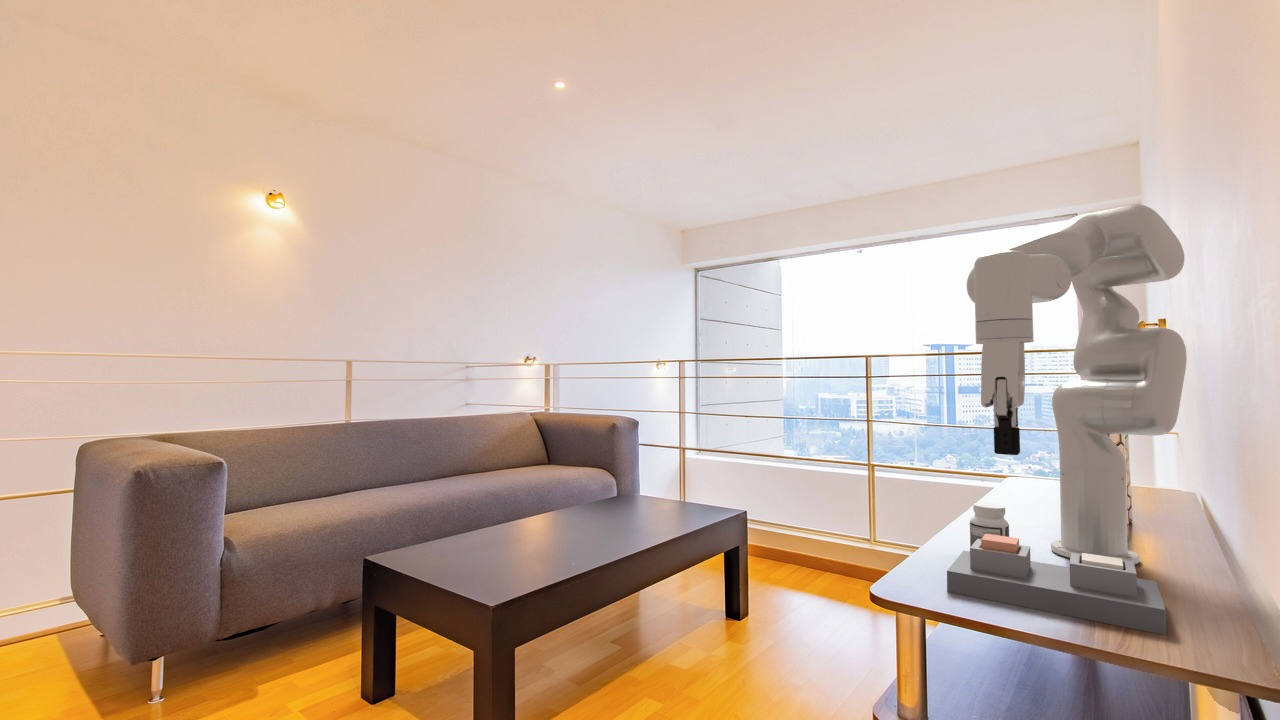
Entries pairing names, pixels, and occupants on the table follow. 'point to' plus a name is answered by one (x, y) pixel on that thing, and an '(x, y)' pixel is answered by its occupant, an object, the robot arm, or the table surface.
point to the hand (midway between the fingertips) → (1007, 453)
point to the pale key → (1102, 561)
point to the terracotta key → (1000, 543)
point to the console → (1060, 587)
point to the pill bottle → (988, 521)
